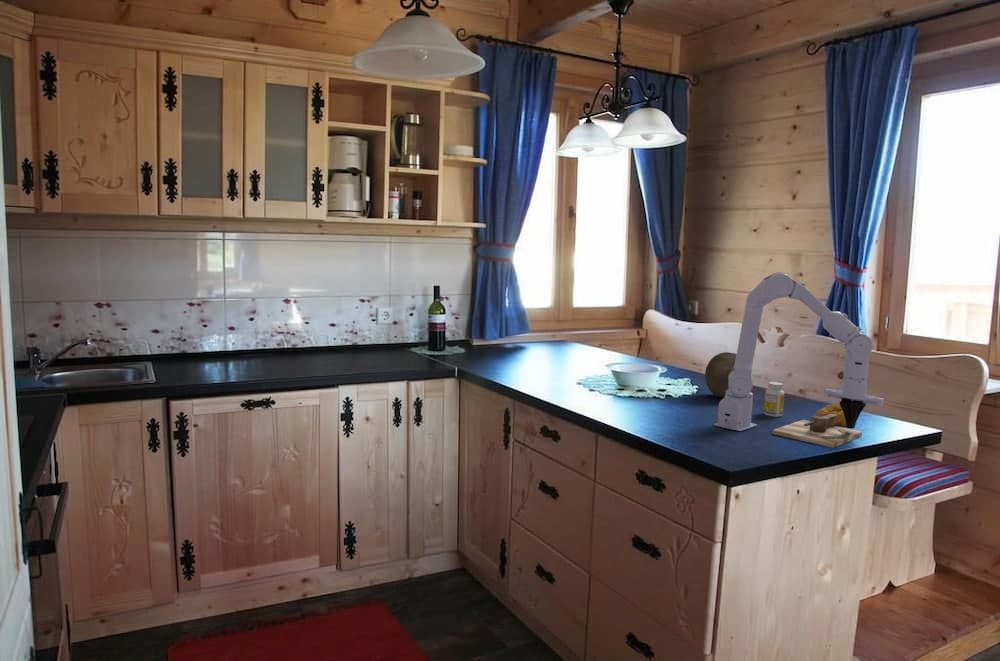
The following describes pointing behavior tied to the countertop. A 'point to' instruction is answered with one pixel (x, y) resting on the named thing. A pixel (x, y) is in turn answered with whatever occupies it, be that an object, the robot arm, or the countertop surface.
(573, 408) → the countertop surface
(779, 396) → the supplement bottle
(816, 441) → the board
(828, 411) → the bagel
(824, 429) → the brown elongated piece
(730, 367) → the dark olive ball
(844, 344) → the robot arm
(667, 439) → the countertop surface
